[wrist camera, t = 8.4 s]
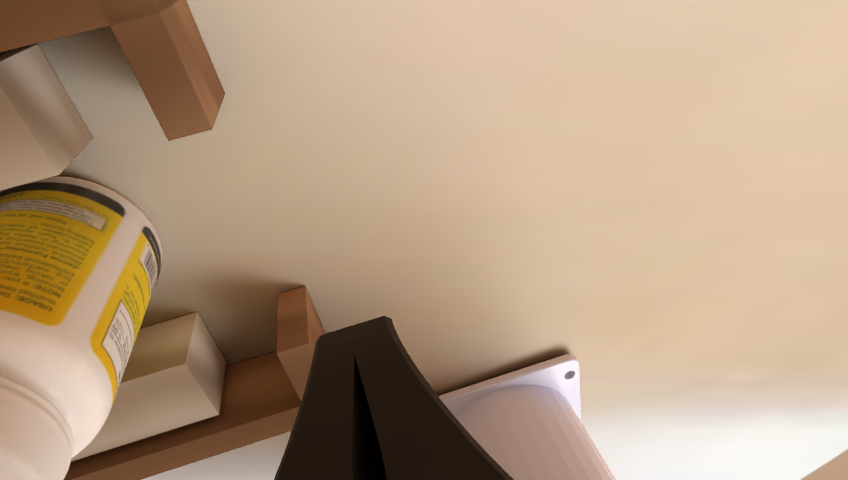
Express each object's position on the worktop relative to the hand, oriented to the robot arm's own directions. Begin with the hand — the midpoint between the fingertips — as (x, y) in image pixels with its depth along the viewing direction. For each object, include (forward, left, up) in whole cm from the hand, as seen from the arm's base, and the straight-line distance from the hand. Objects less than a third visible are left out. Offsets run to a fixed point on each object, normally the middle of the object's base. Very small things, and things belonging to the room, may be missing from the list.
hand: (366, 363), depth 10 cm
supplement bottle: (0, +8, -8) cm, 11 cm away
